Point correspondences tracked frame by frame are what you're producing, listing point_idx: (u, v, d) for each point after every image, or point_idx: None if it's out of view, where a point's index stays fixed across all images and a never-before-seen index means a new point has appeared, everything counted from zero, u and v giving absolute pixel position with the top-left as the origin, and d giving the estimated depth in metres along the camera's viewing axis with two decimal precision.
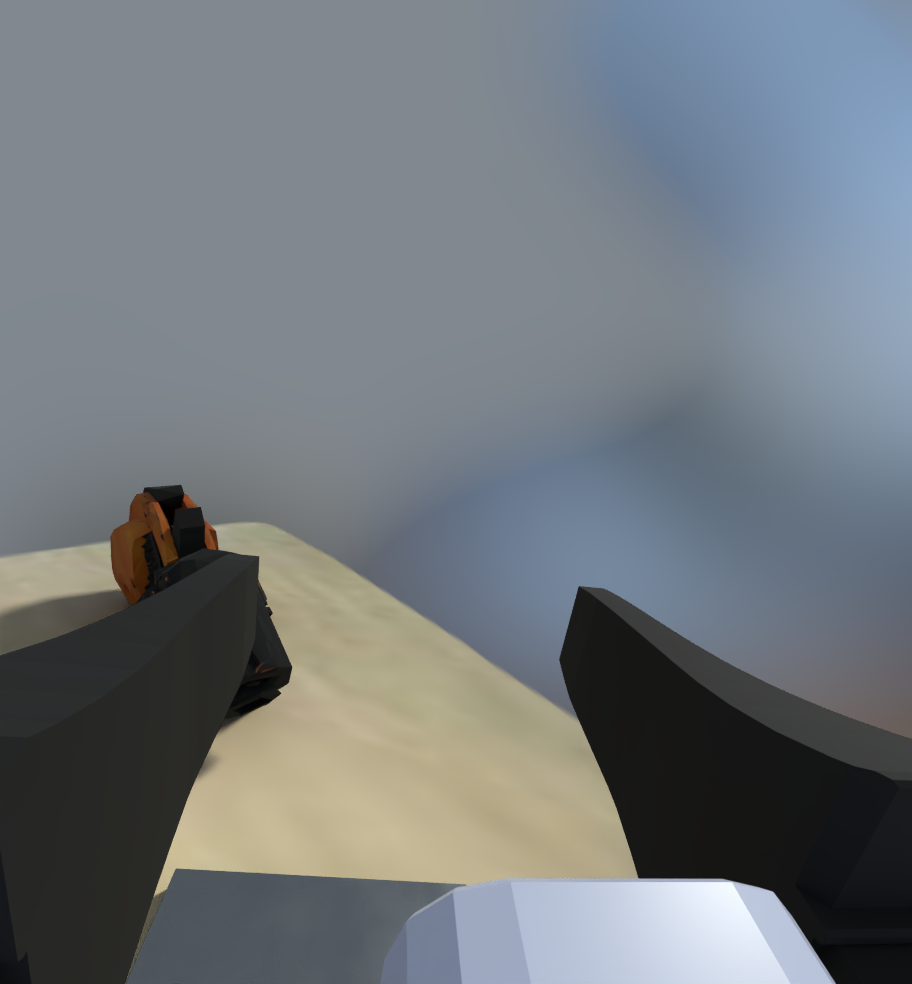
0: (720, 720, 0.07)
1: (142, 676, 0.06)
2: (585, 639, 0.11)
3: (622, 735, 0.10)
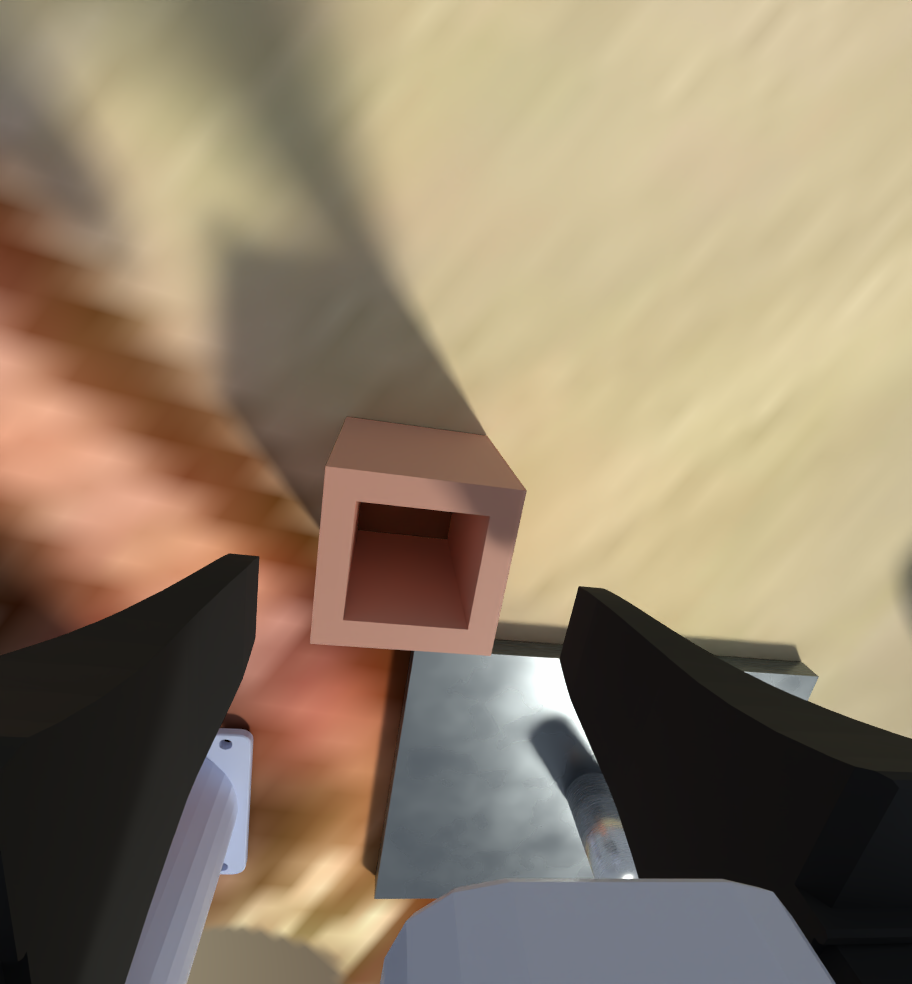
0: (720, 719, 0.07)
1: (142, 676, 0.06)
2: (585, 639, 0.11)
3: (622, 735, 0.10)
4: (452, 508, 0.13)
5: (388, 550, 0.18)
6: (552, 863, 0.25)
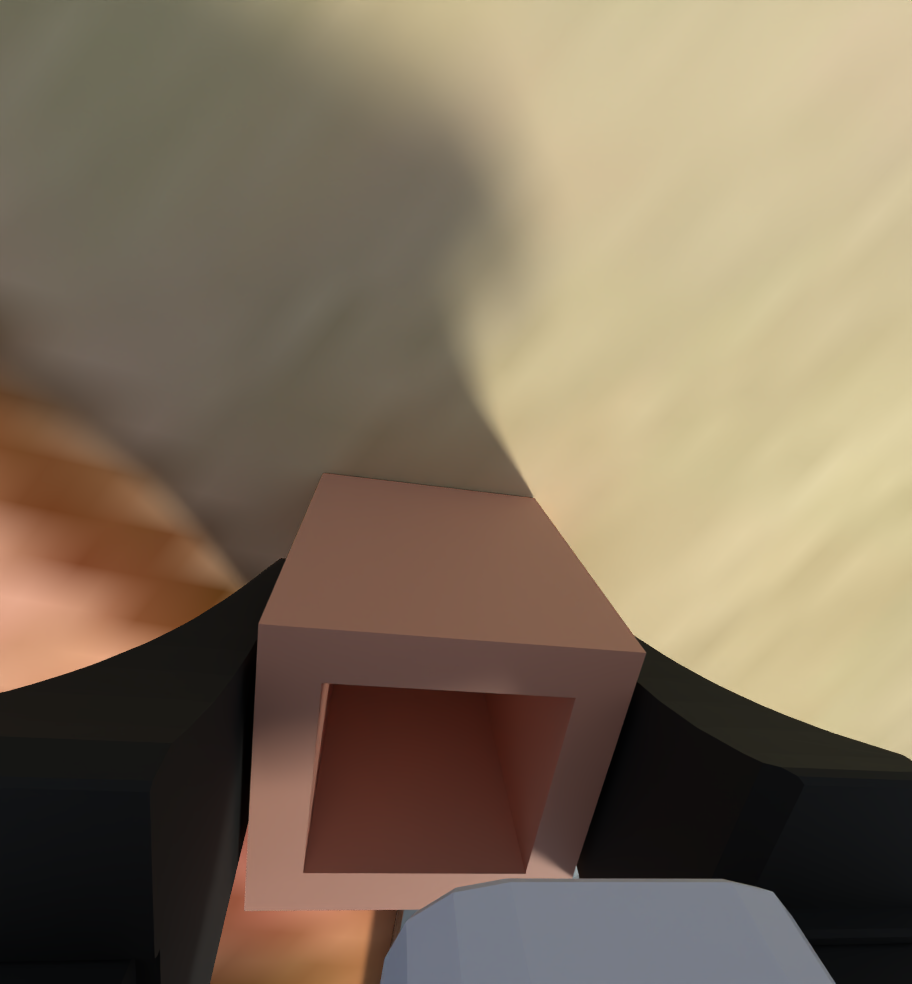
0: (650, 716, 0.07)
1: (235, 681, 0.06)
2: None
3: None
4: (506, 688, 0.07)
5: None
6: None
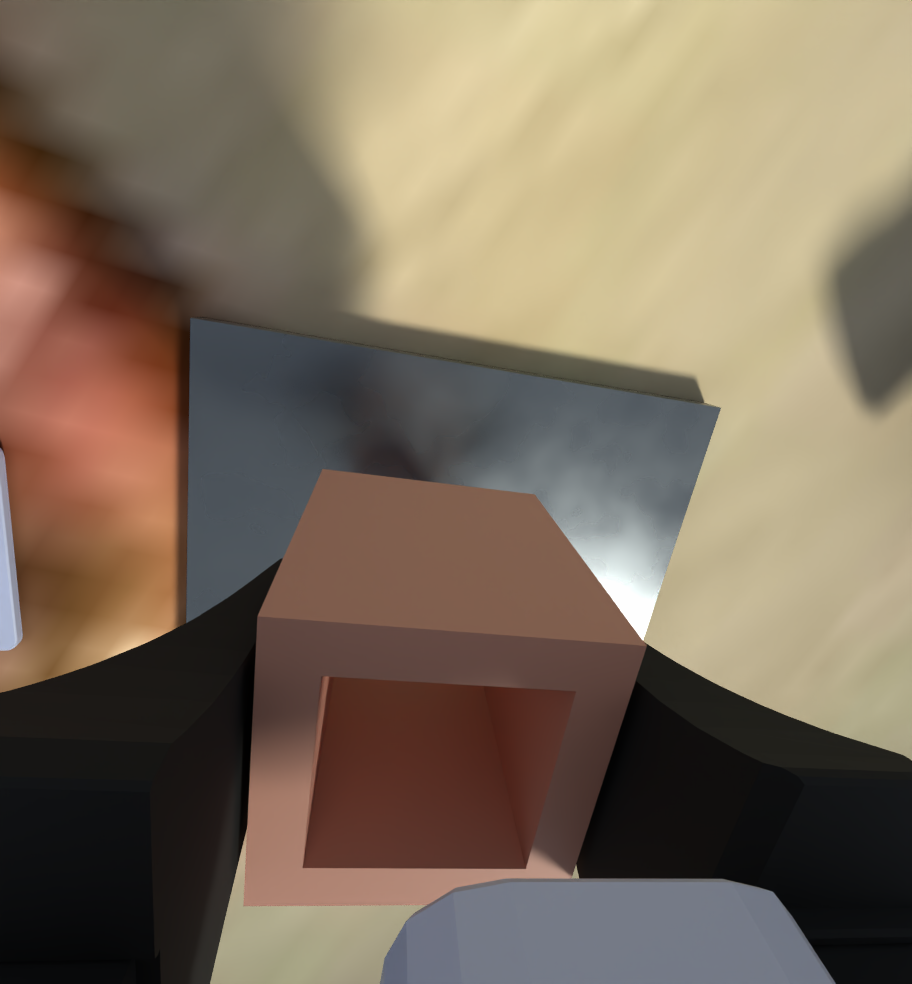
0: (651, 716, 0.07)
1: (235, 681, 0.06)
2: None
3: None
4: (506, 682, 0.07)
5: None
6: None
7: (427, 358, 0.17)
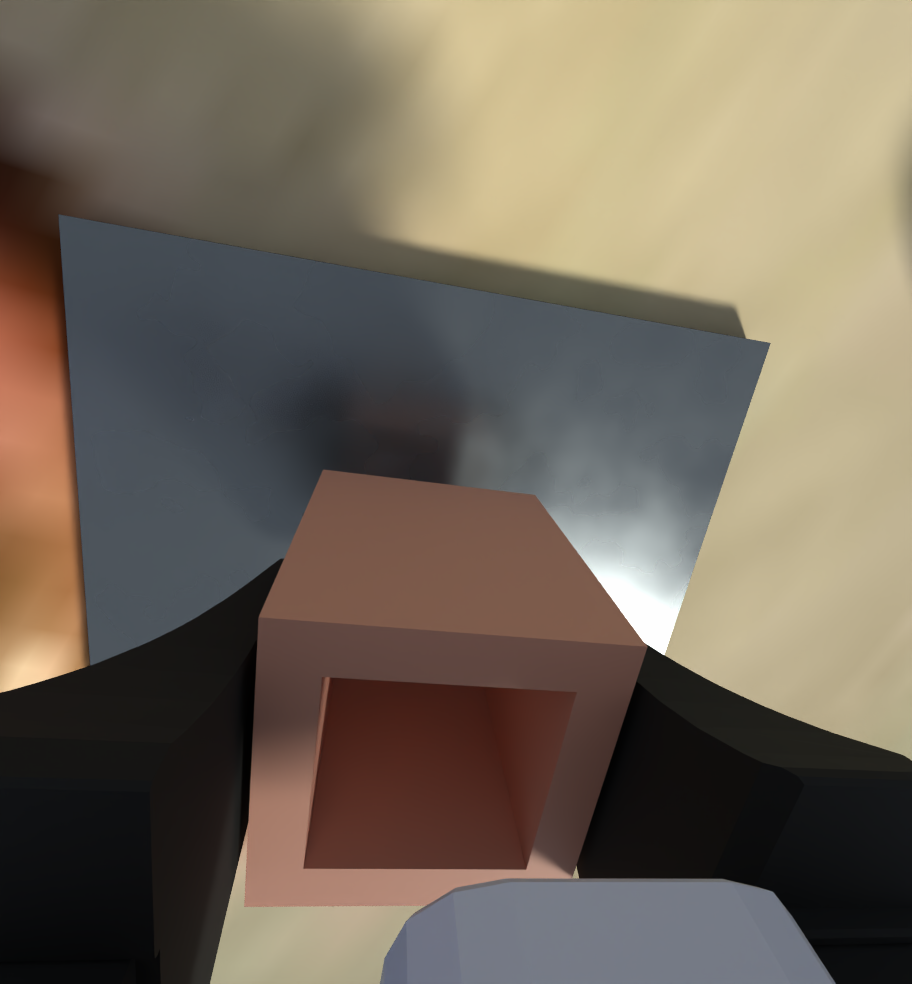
0: (651, 716, 0.07)
1: (235, 681, 0.06)
2: None
3: None
4: (507, 682, 0.07)
5: None
6: None
7: (385, 274, 0.13)
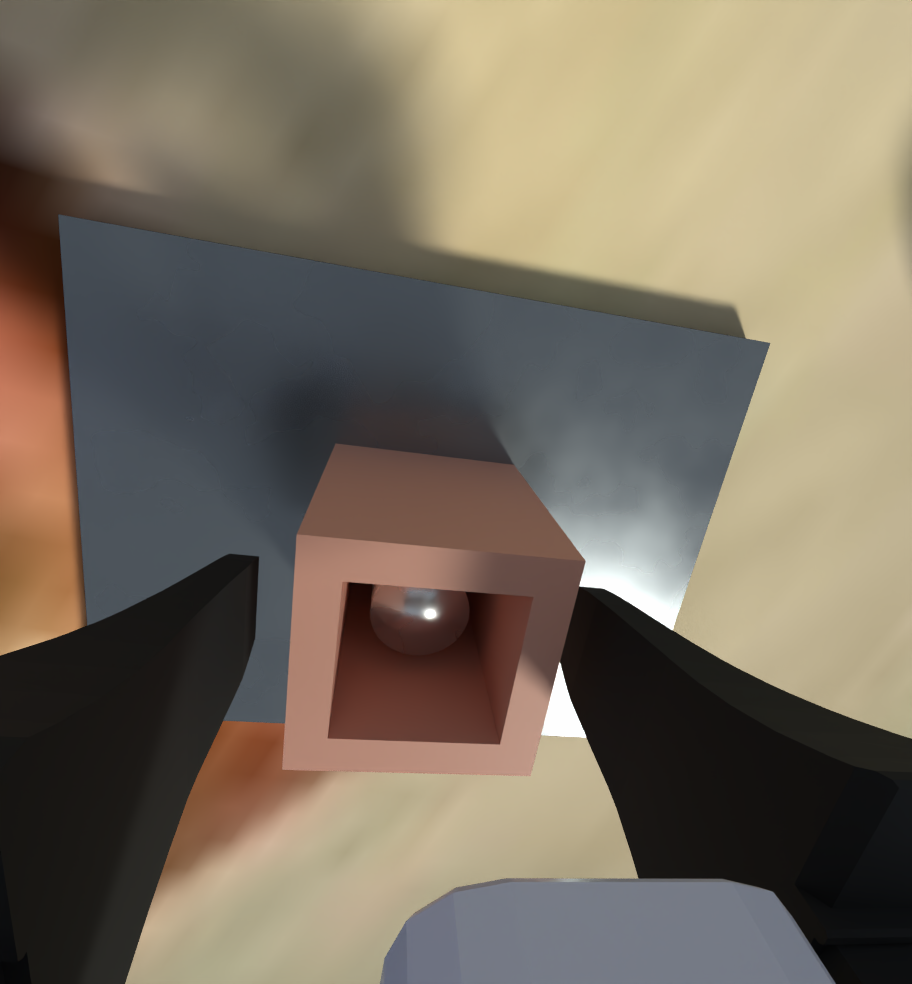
0: (720, 719, 0.07)
1: (142, 676, 0.06)
2: (585, 639, 0.11)
3: (622, 735, 0.10)
4: (480, 588, 0.09)
5: None
6: None
7: (384, 274, 0.13)
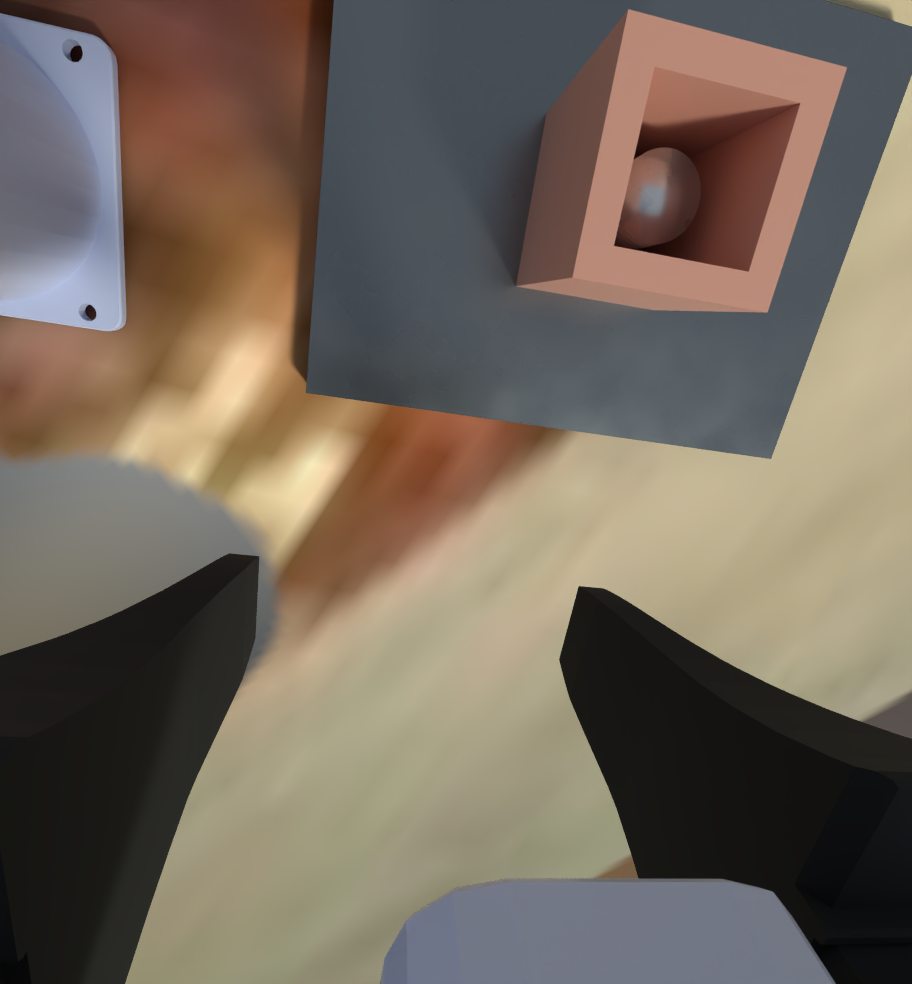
0: (720, 719, 0.07)
1: (142, 676, 0.06)
2: (585, 639, 0.11)
3: (622, 735, 0.10)
4: (761, 86, 0.11)
5: None
6: (550, 360, 0.19)
7: None
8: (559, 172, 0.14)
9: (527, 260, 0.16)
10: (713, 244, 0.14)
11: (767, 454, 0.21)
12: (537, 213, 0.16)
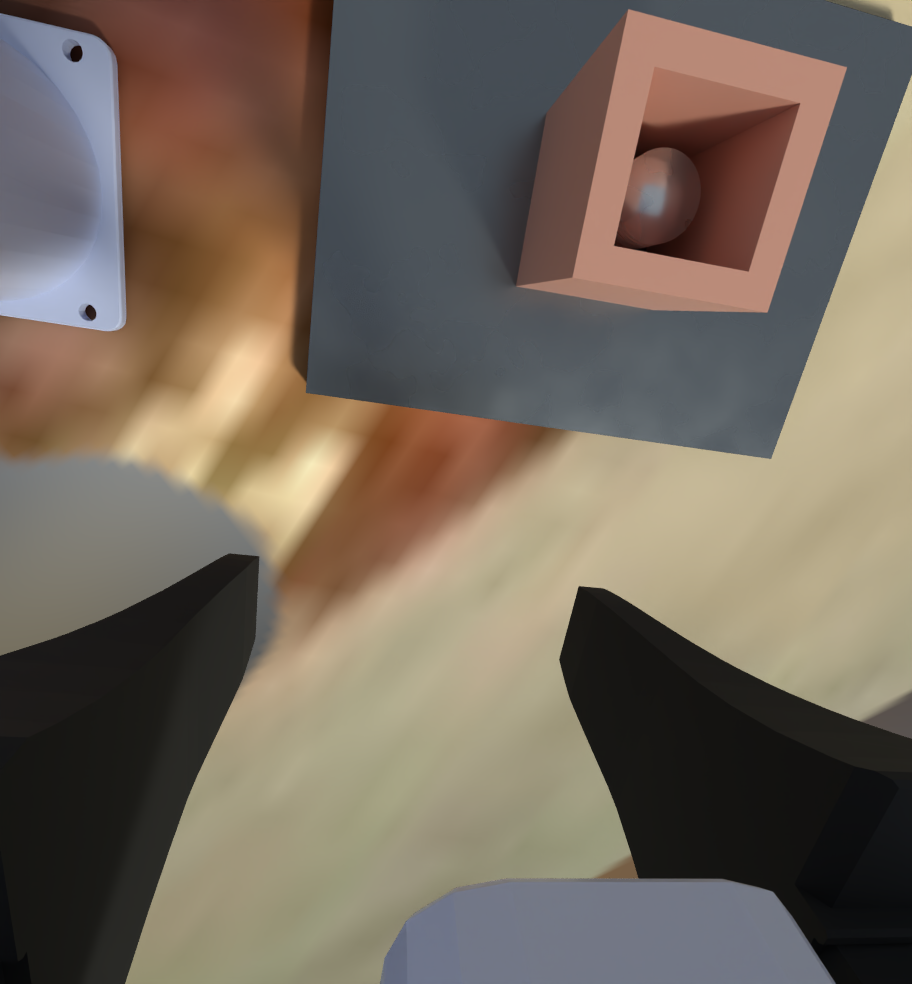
0: (720, 719, 0.07)
1: (142, 676, 0.06)
2: (585, 639, 0.11)
3: (622, 735, 0.10)
4: (761, 86, 0.11)
5: None
6: (550, 360, 0.19)
7: None
8: (559, 172, 0.14)
9: (527, 260, 0.16)
10: (713, 244, 0.14)
11: (767, 454, 0.21)
12: (537, 213, 0.16)
